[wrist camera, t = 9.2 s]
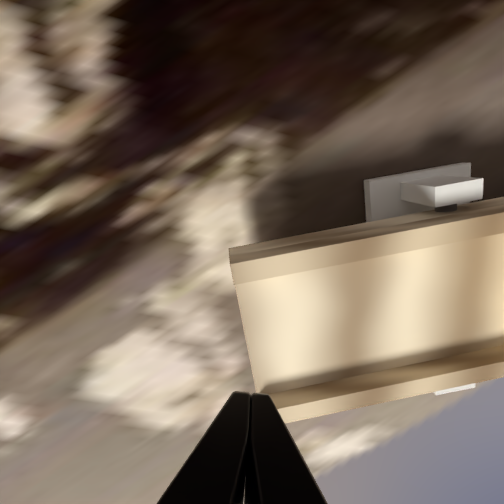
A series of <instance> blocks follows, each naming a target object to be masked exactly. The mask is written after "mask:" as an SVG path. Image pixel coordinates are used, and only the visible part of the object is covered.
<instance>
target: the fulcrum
mask: <svg viewBox="0 0 504 504" xmlns="http://www.w3.org/2000/svg"><path fill="white" fill-rule="evenodd" d="M364 195H365V210H366V222H371V221H377V220H382V219H387V218H393V217H398V216H403V215H409V214H414V213H419V212H425V211H430V210H435V207H441V206H446V205H452V204H457V205H462V204H467V203H470V201H474V200H479V199H483V178H474V177H471V163H456V164H450V165H445V166H439V167H434V168H428V169H422V170H417V171H411V172H406V173H400V174H395V175H389V176H384V177H378V178H372V179H367V180H364ZM470 388H475V383H473V384H469V385H464V386H459V387H454V388H450V389H445V390H440V391H436V392H433V393H434V394H435V395H440V394H445V393H450V392H455V391H460V390H465V389H470Z"/></svg>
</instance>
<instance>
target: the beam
mask: <svg viewBox="0 0 504 504" xmlns="http://www.w3.org/2000/svg"><path fill="white" fill-rule="evenodd" d="M229 258H230V267H231V272H232V277H233V282H234V285H235V288H236V293H237V298H238V303H239V308H240V313H241V318H242V323H243V328H244V333H245V338H246V343H247V348H248V353H249V358H250V363H251V368H252V373H253V378H254V383H255V388H256V393H263V394H268V395H270V397H271V399H272V400H273V402H274V404H275V406H276V408H277V410H278V412H279V414H280V415H281V417H282V419H283V421H284V423H289V422H294V421H299V420H304V419H308V418H313V417H318V416H322V415H327V414H332V413H337V412H341V411H346V410H351V409H355V408H360V407H365V406H370V405H374V404H379V403H384V402H388V401H393V400H398V399H403V398H407V397H412V396H417V395H421V394H426V393H431V392H436V391H440V390H445V389H450V388H454V387H459V386H464V385H469V384H473V383H478V382H483V381H487V380H492V379H497V378H502V377H504V197H499V198H494V199H489V200H483V201H478V202H473V203H467V204H462V205H457V204H452V205H446V206H441V207H435V210H430V211H425V212H419V213H414V214H409V215H403V216H398V217H393V218H387V219H382V220H377V221H371V222H366V223H361V224H356V225H350V226H345V227H340V228H334V229H329V230H324V231H318V232H313V233H308V234H302V235H297V236H292V237H286V238H281V239H276V240H270V241H265V242H260V243H254V244H249V245H244V246H238V247H233V248H229Z"/></svg>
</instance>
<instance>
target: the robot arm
mask: <svg viewBox="0 0 504 504" xmlns="http://www.w3.org/2000/svg"><path fill="white" fill-rule="evenodd" d="M244 489H245V494H244ZM243 500H244V504H327V502H326V500H325V498H324V496H323V494H322V492H321V490H320V489H319V487H318V485H317V483H316V481H315V479H314V477H313V475H312V473H311V472H310V470H309V468H308V466H307V464H306V462H305V460H304V458H303V457H302V455H301V453H300V451H299V449H298V447H297V445H296V444H295V442H294V440H293V438H292V436H291V434H290V432H289V430H288V429H287V427H286V425H285V423H284V421H283V419H282V417H281V415H280V414H279V412H278V410H277V408H276V406H275V404H274V402H273V400H272V399H271V397H270V395H268V394H263V393H253V394H252V395H251V394H250V393H249V392H239V391H235V392H233V393H232V394H231V396H230V397H229V399H228V400H227V402H226V403H225V405H224V406H223V407H222V409H221V410H220V412H219V413H218V415H217V416H216V418H215V419H214V421H213V422H212V424H211V425H210V426H209V428H208V429H207V431H206V432H205V434H204V435H203V437H202V438H201V440H200V441H199V443H198V444H197V445H196V447H195V448H194V450H193V451H192V453H191V454H190V456H189V457H188V459H187V460H186V462H185V463H184V464H183V466H182V467H181V469H180V470H179V472H178V473H177V475H176V476H175V478H174V479H173V481H172V482H171V483H170V485H169V486H168V488H167V489H166V491H165V492H164V494H163V495H162V497H161V498H160V500H159V501H158V502H157V504H243Z"/></svg>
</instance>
